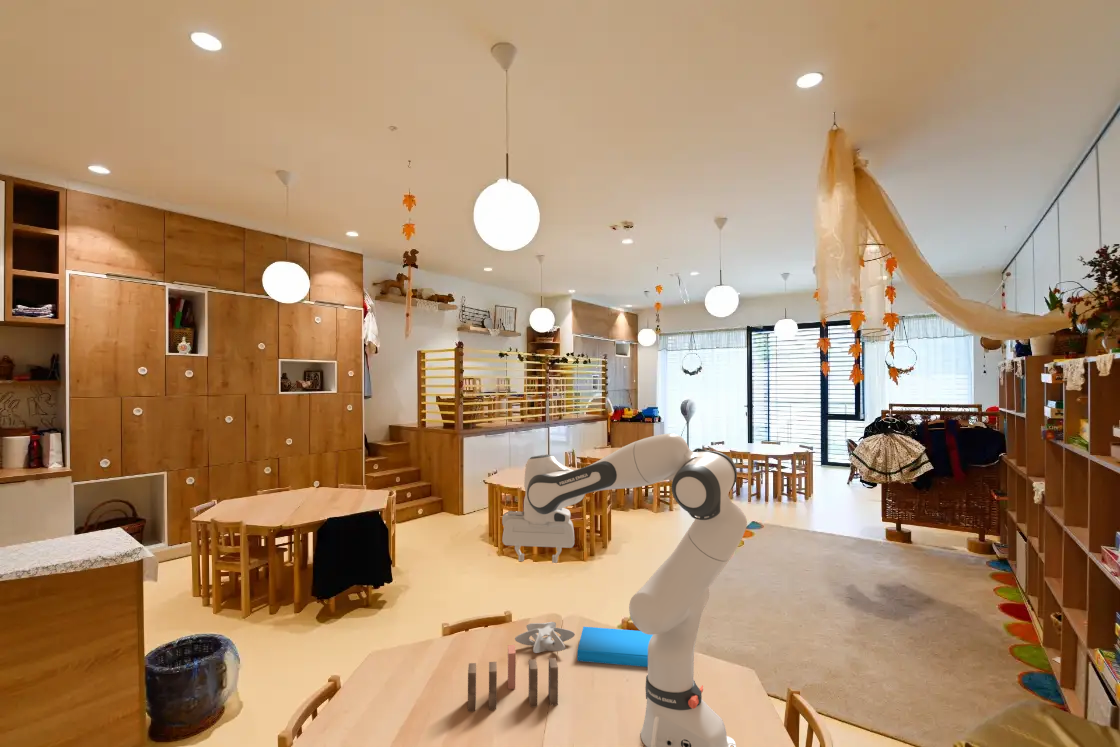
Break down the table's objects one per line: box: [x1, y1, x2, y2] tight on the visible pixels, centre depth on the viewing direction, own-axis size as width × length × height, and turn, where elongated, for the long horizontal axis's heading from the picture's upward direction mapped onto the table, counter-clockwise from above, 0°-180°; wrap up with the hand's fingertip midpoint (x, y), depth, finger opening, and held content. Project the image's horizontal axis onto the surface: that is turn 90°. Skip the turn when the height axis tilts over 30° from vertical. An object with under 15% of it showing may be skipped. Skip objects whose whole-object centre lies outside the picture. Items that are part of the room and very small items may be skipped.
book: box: [576, 626, 653, 668], centre depth 175 cm, size 17×4×25 cm
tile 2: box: [488, 661, 498, 711], centre depth 146 cm, size 2×5×10 cm, turn 7°
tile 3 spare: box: [507, 644, 517, 690], centre depth 156 cm, size 2×5×10 cm, turn 7°
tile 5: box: [548, 657, 559, 706], centre depth 148 cm, size 2×5×10 cm, turn 7°
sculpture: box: [514, 621, 576, 654], centre depth 179 cm, size 18×20×6 cm
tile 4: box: [528, 658, 539, 708], centre depth 148 cm, size 2×5×10 cm, turn 7°
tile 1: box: [467, 662, 477, 712], centre depth 145 cm, size 2×5×10 cm, turn 7°
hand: (538, 561), depth 152 cm, fingers open, 8 cm apart
